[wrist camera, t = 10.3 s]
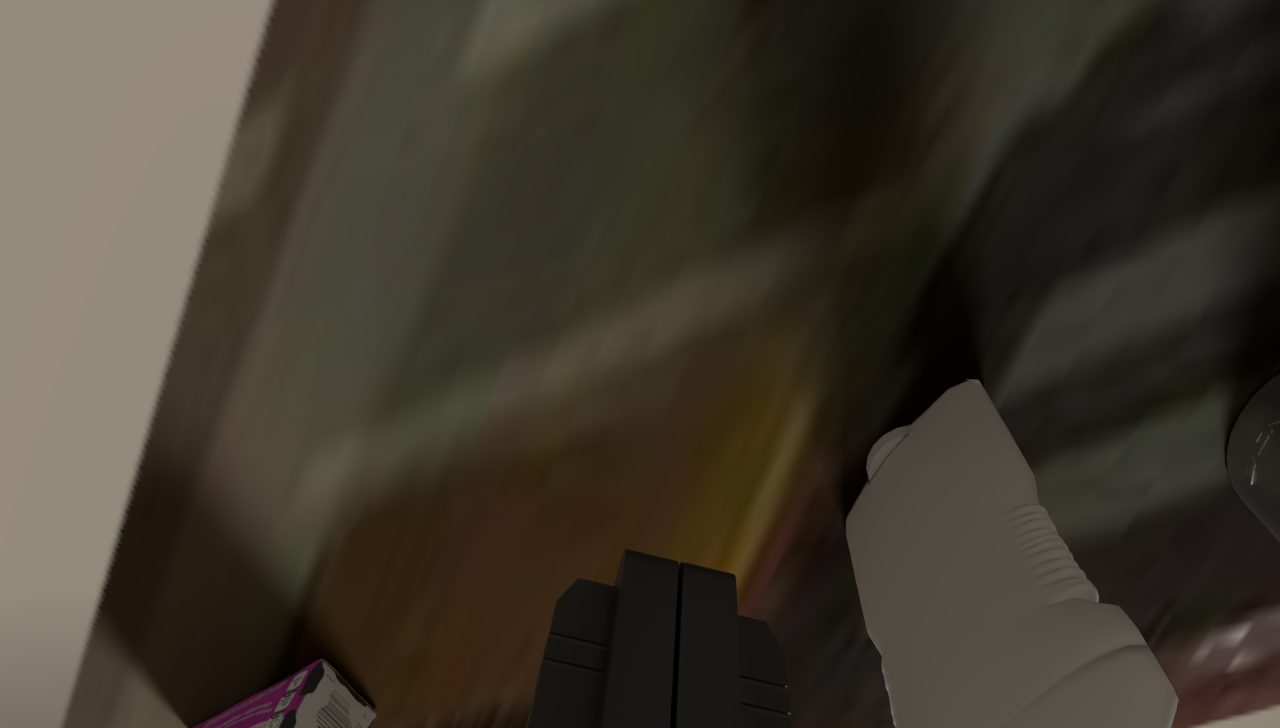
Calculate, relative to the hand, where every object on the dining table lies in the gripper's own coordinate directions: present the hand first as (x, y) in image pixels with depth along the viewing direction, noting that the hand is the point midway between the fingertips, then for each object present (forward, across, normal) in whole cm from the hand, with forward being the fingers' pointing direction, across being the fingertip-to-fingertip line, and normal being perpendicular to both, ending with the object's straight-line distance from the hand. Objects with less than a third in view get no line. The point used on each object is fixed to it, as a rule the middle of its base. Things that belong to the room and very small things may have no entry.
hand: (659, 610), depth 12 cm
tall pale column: (+27, -13, +11) cm, 32 cm away
